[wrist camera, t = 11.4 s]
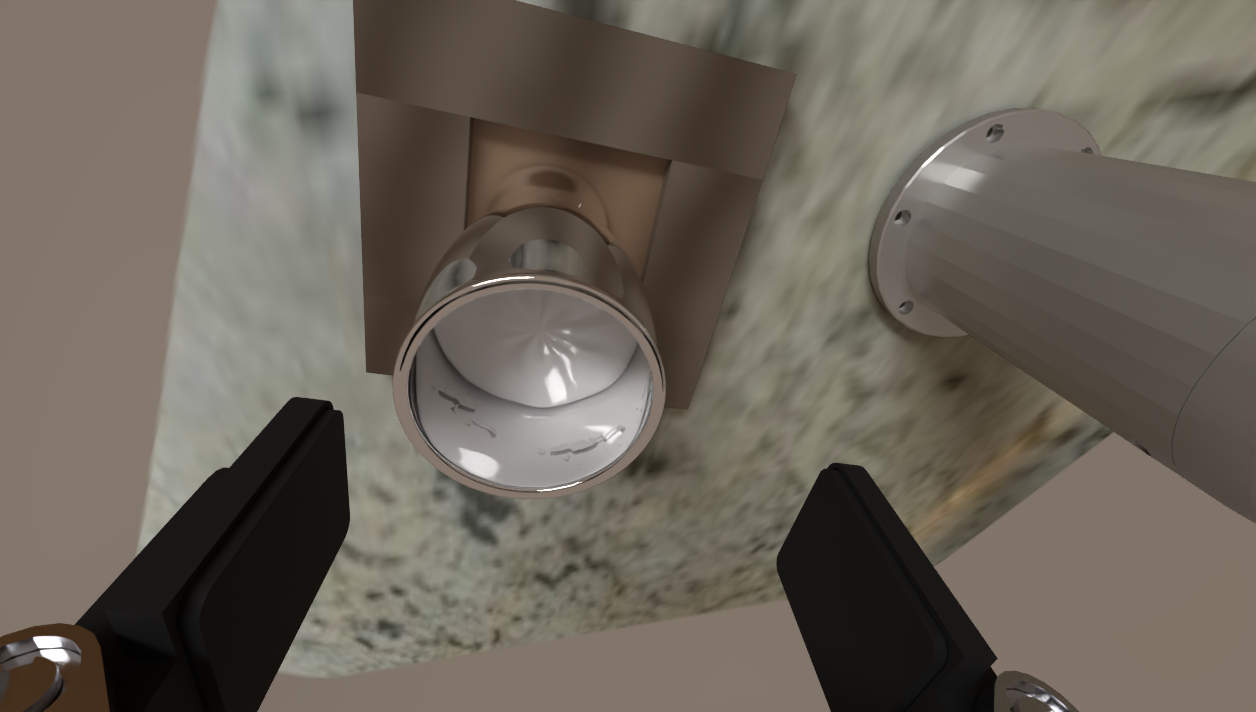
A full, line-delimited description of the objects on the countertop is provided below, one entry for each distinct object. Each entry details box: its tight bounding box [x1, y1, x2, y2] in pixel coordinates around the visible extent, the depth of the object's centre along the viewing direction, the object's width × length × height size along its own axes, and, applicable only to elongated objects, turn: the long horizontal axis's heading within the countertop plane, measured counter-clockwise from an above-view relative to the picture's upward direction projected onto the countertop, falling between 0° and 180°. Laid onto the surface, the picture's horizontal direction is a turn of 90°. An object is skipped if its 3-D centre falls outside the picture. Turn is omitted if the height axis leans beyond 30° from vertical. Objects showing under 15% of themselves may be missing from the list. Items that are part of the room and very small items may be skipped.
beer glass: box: [393, 165, 666, 499], centre depth 19 cm, size 7×7×15 cm
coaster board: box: [353, 0, 797, 409], centre depth 26 cm, size 18×18×2 cm
